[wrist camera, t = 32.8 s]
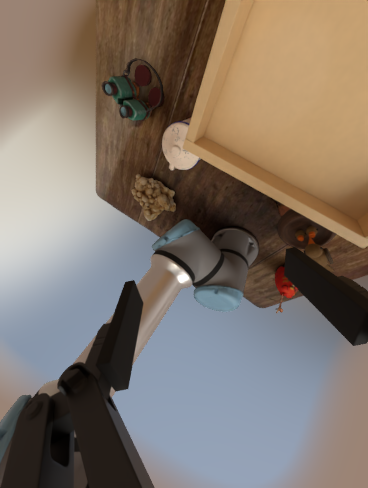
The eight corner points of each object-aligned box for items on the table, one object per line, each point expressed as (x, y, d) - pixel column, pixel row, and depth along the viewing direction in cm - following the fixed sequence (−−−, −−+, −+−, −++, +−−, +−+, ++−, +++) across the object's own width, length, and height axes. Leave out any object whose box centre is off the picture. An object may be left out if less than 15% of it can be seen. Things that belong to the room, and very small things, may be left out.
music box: (353, 202, 37) (372, 274, 25) (303, 227, 46) (300, 290, 34) (302, 155, 35) (297, 209, 24) (260, 190, 44) (241, 243, 32)
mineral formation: (155, 214, 64) (128, 178, 57) (185, 201, 58) (159, 158, 51) (146, 227, 59) (116, 188, 51) (178, 213, 52) (148, 167, 45)
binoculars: (153, 92, 31) (123, 130, 37) (175, 93, 38) (147, 125, 44) (118, 34, 28) (91, 86, 34) (149, 47, 35) (123, 88, 41)
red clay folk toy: (304, 277, 55) (307, 320, 45) (281, 280, 60) (279, 320, 50) (293, 260, 53) (294, 302, 43) (270, 265, 57) (266, 304, 48)
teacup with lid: (192, 104, 38) (167, 111, 30) (222, 135, 39) (205, 149, 32) (167, 149, 47) (143, 164, 39) (192, 173, 48) (174, 192, 40)
